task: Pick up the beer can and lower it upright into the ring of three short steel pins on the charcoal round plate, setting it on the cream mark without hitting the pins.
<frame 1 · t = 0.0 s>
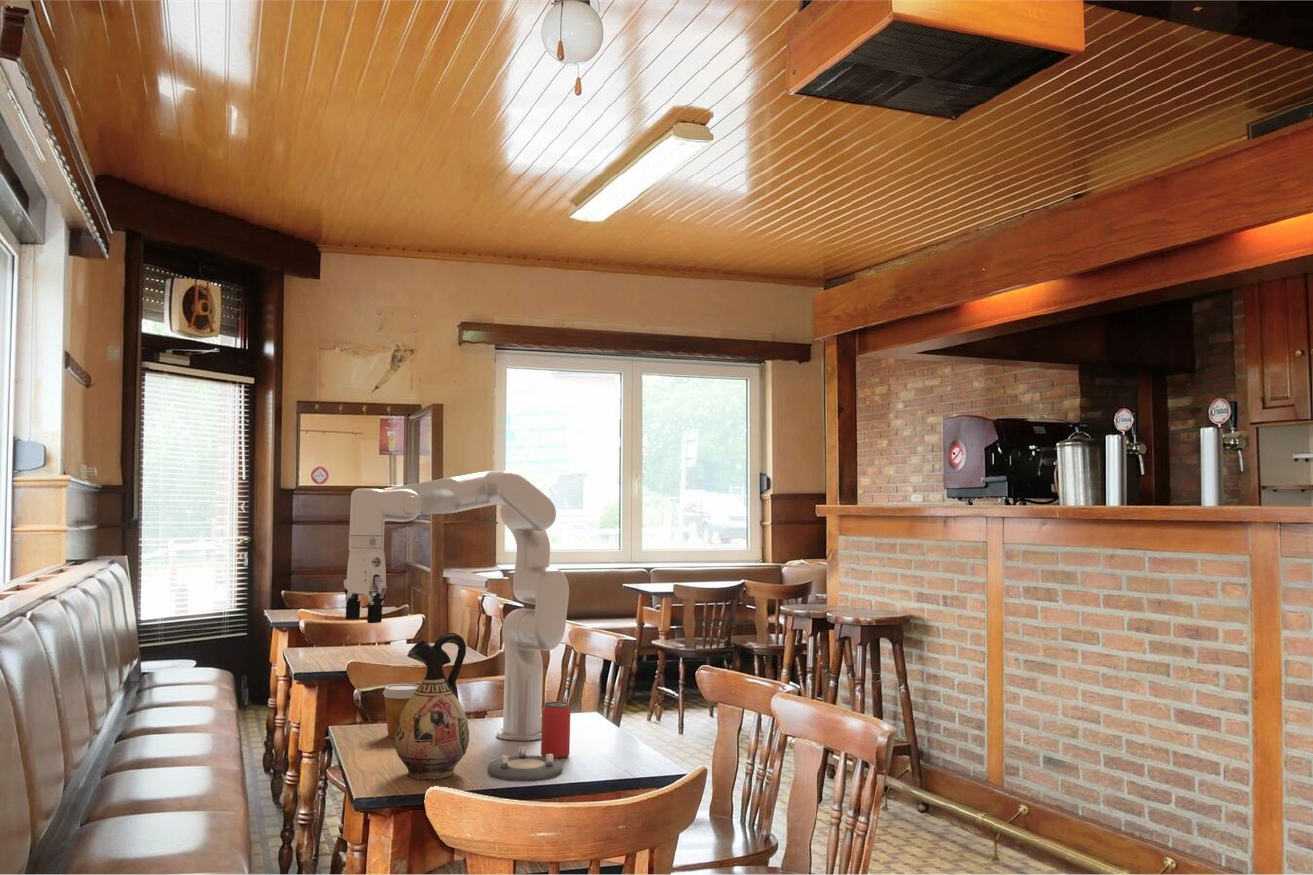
hand: (363, 620, 229), 31 cm above the table, tool pointing down, fingers open, 9 cm apart
steel pins: (520, 759, 222), on the pin plate, point 3 cm above the table
disposable coffee cup: (400, 736, 255), on the table
ceramic jug: (434, 775, 219), on the table
beer can: (555, 757, 237), on the table
pin plate: (525, 770, 223), on the table
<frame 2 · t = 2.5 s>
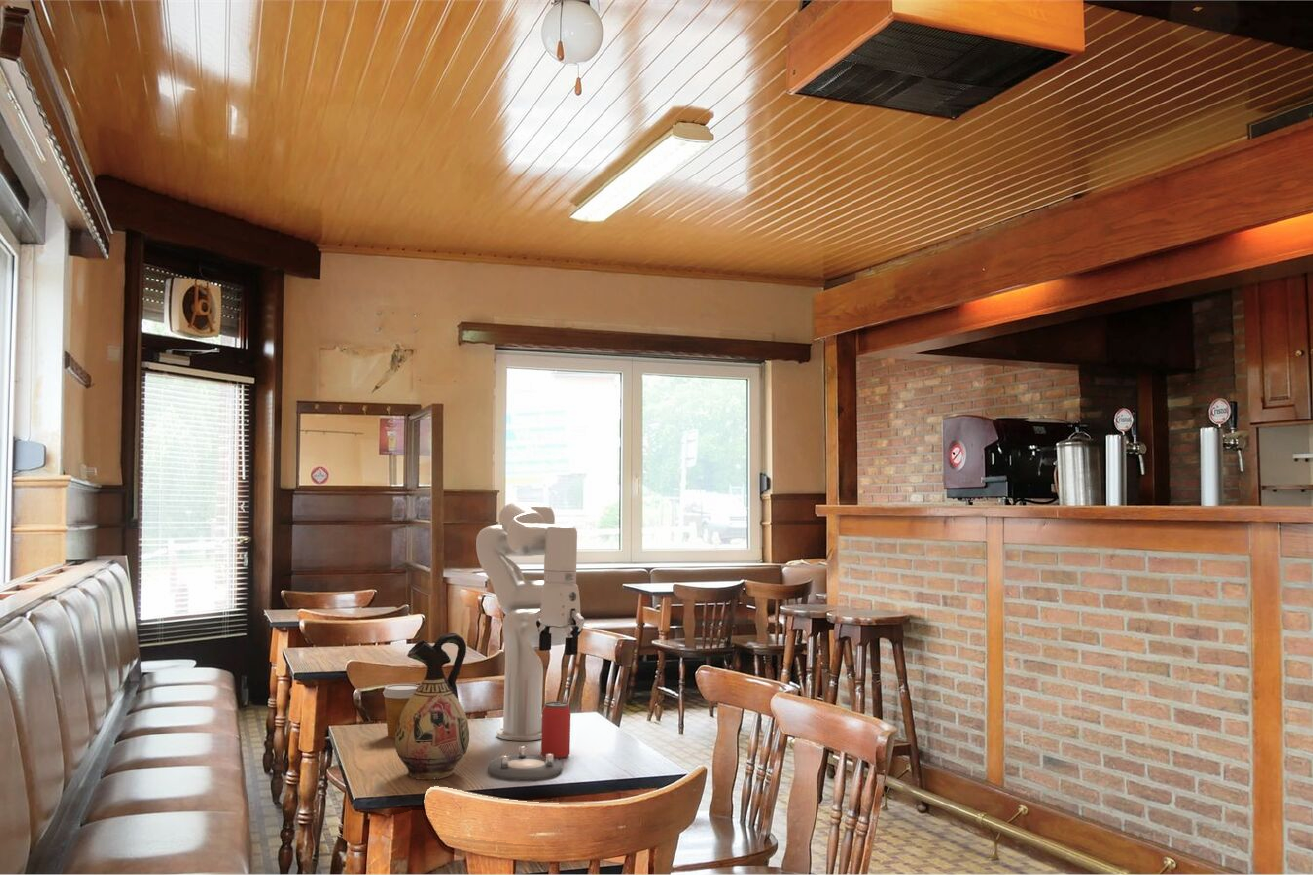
hand: (558, 652, 239), 24 cm above the table, tool pointing down, fingers open, 9 cm apart
nothing on the table moved.
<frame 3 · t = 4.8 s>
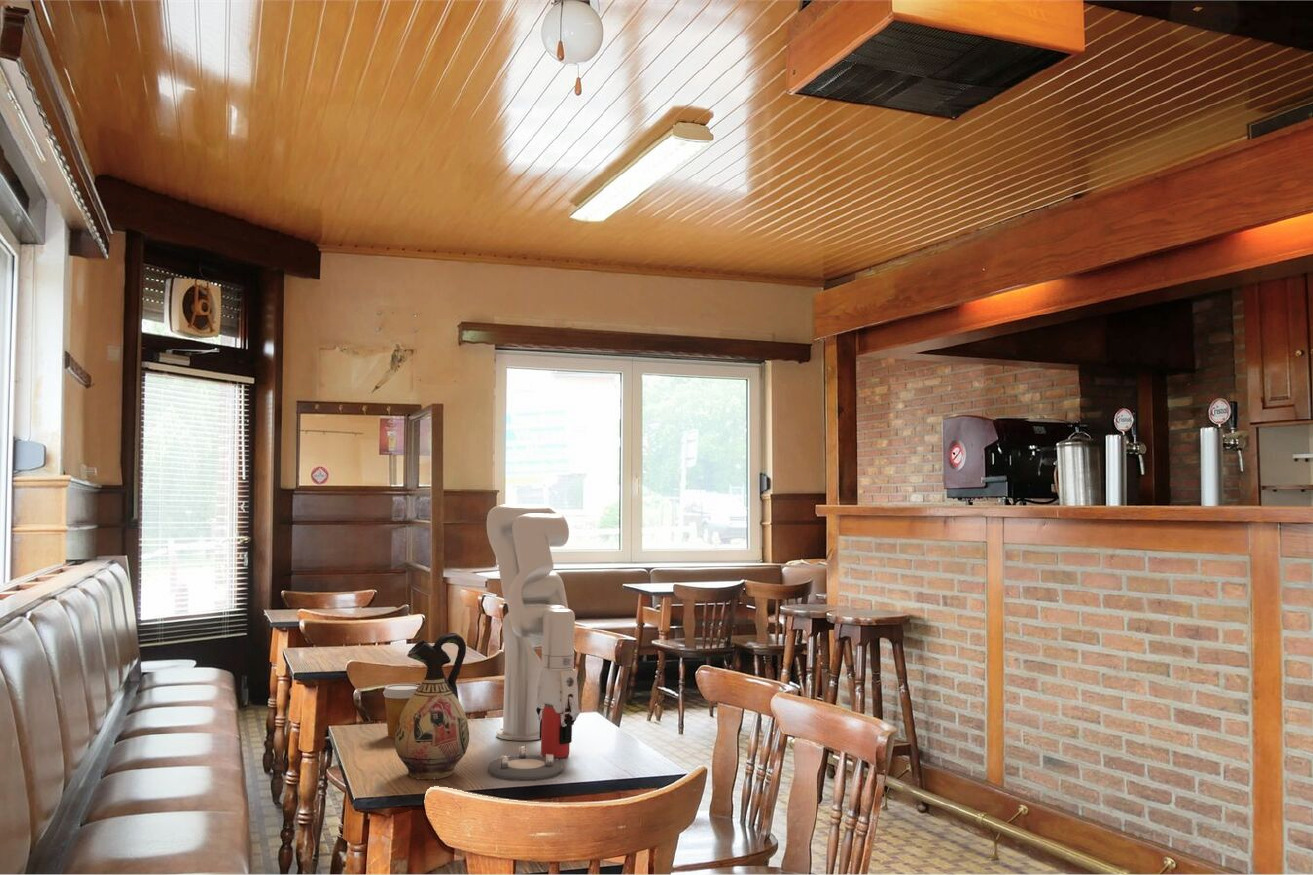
hand: (555, 739, 237), 4 cm above the table, tool pointing down, fingers closed on beer can, 6 cm apart
beer can: (554, 757, 237), on the table, touching gripper
everything else where it was.
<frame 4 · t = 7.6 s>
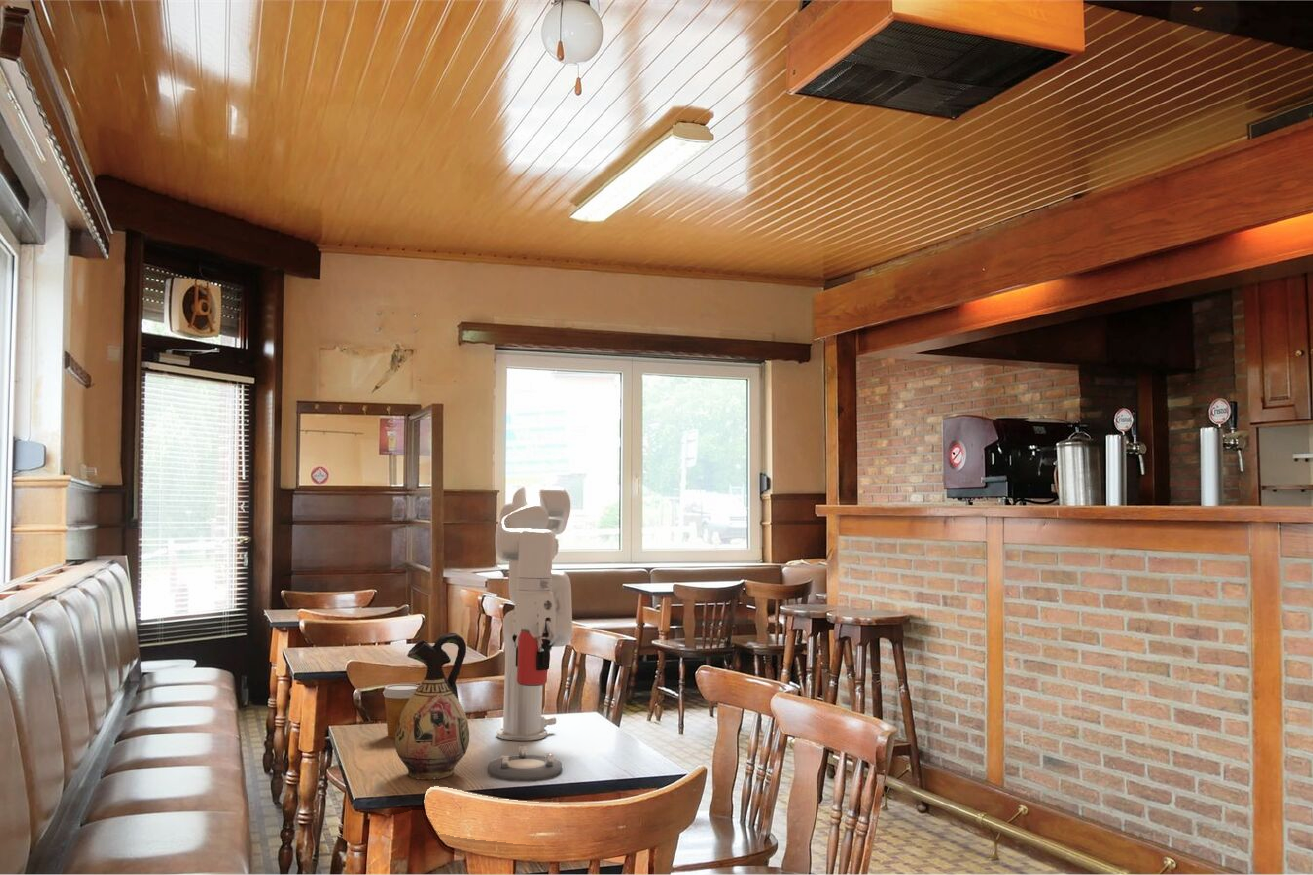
hand: (532, 667, 226), 22 cm above the table, tool pointing down, fingers closed on beer can, 6 cm apart
beer can: (531, 685, 226), point 18 cm above the table, touching gripper
everything else where it was.
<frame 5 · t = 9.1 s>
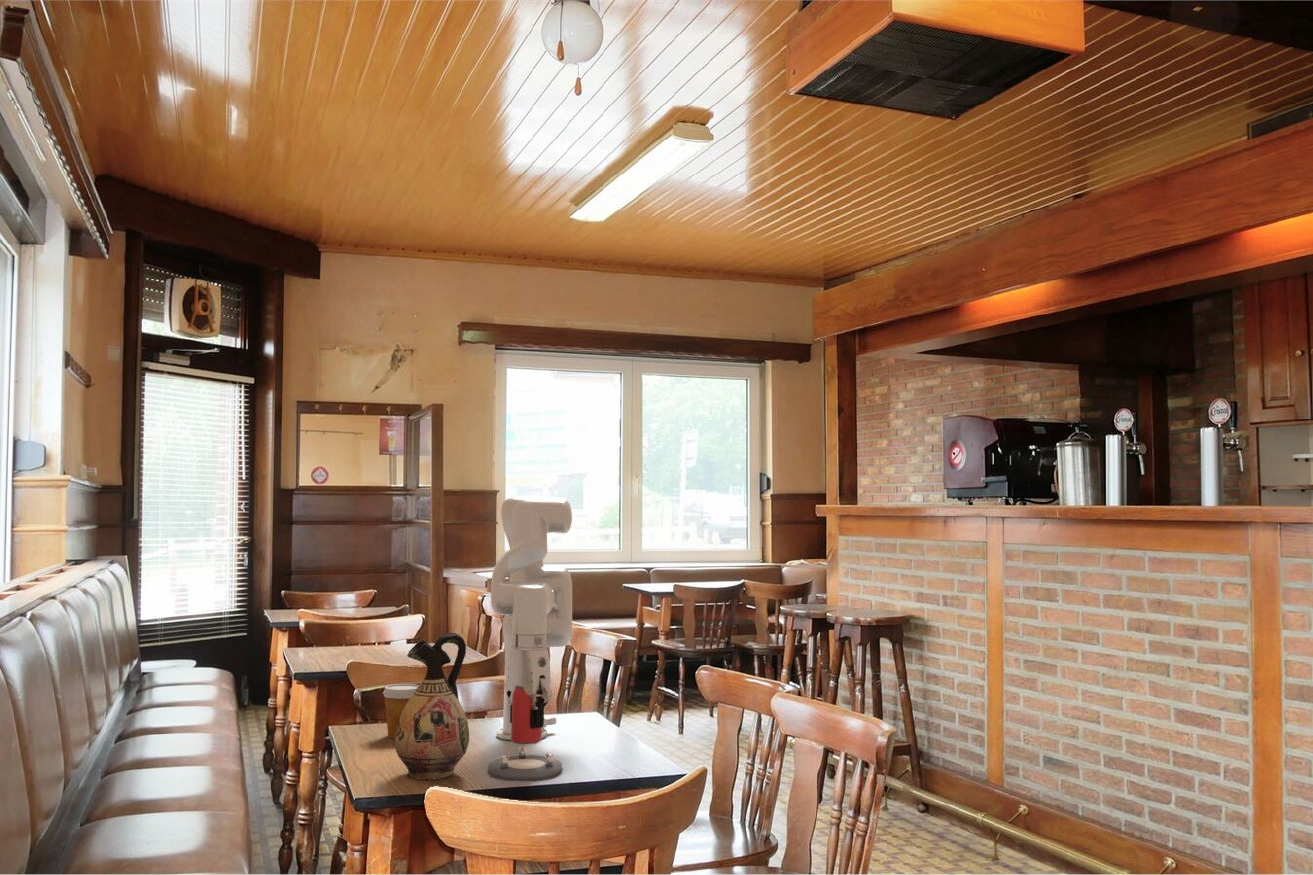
hand: (526, 724, 224), 10 cm above the table, tool pointing down, fingers closed on beer can, 6 cm apart
beer can: (526, 742, 223), point 6 cm above the table, touching gripper
everything else where it was.
when the fingers open (6 cm above the table, at t = 10.4 s): beer can stays where it is, resting on pin plate.
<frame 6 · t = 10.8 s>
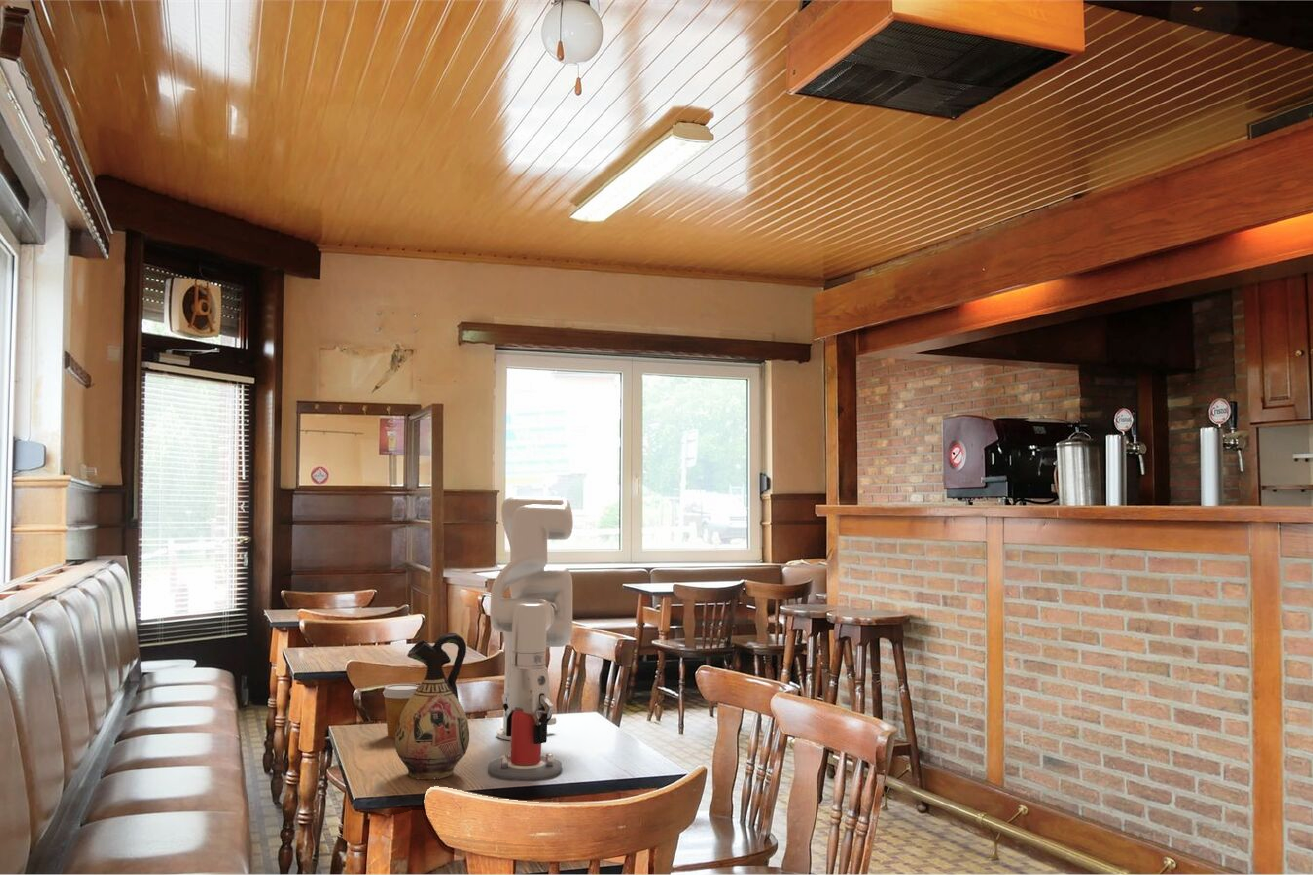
hand: (526, 739, 224), 7 cm above the table, tool pointing down, fingers open, 9 cm apart
beer can: (525, 764, 223), point 1 cm above the table, touching pin plate
everything else where it was.
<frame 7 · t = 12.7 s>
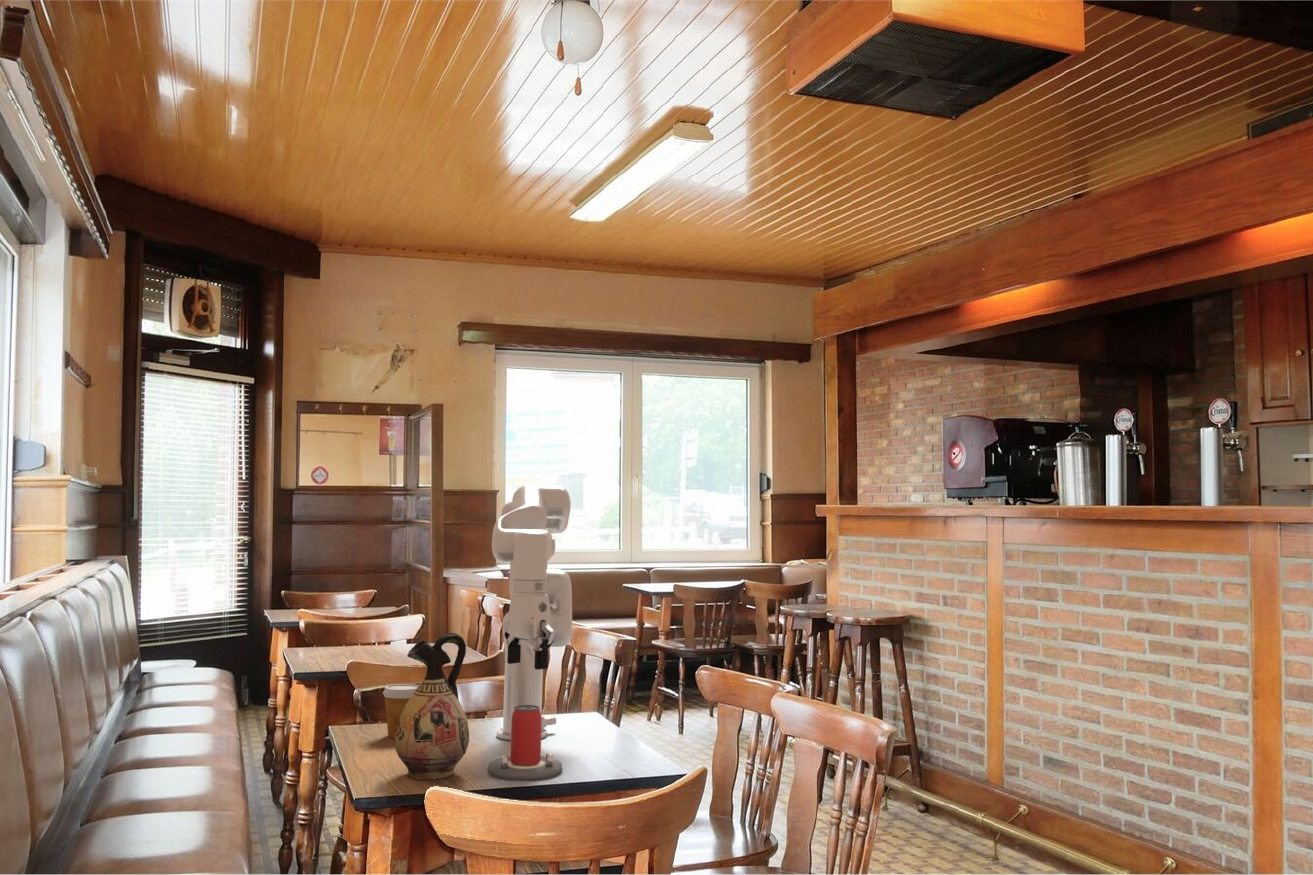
hand: (527, 665, 226), 22 cm above the table, tool pointing down, fingers open, 9 cm apart
nothing on the table moved.
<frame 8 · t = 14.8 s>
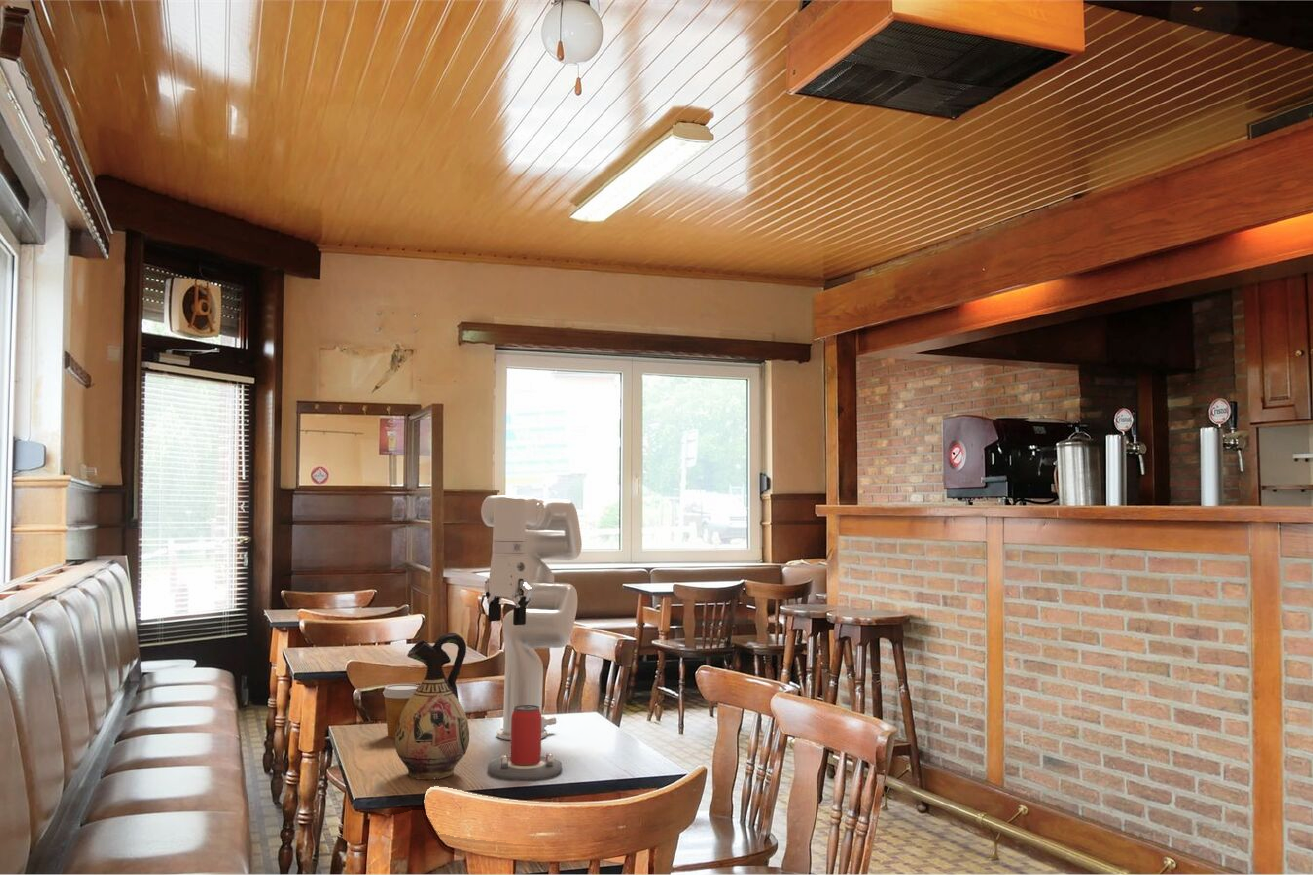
hand: (506, 622, 239), 30 cm above the table, tool pointing down, fingers open, 9 cm apart
nothing on the table moved.
at the end: beer can 0.3 cm off-centre on the pin plate, point 1.4 cm above the pin plate's base; beer can tilted 0°; the gripper is holding nothing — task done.
